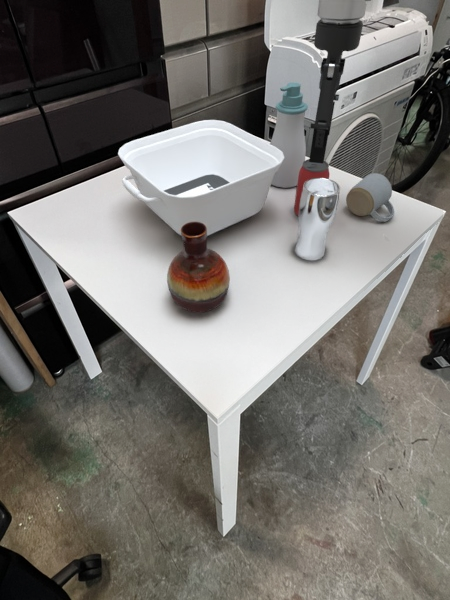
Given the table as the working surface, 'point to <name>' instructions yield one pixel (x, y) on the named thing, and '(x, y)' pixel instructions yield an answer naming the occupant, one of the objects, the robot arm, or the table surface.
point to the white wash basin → (201, 173)
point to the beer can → (309, 177)
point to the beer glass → (316, 216)
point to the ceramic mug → (371, 197)
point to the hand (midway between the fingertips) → (319, 147)
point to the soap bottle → (290, 135)
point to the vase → (197, 272)
